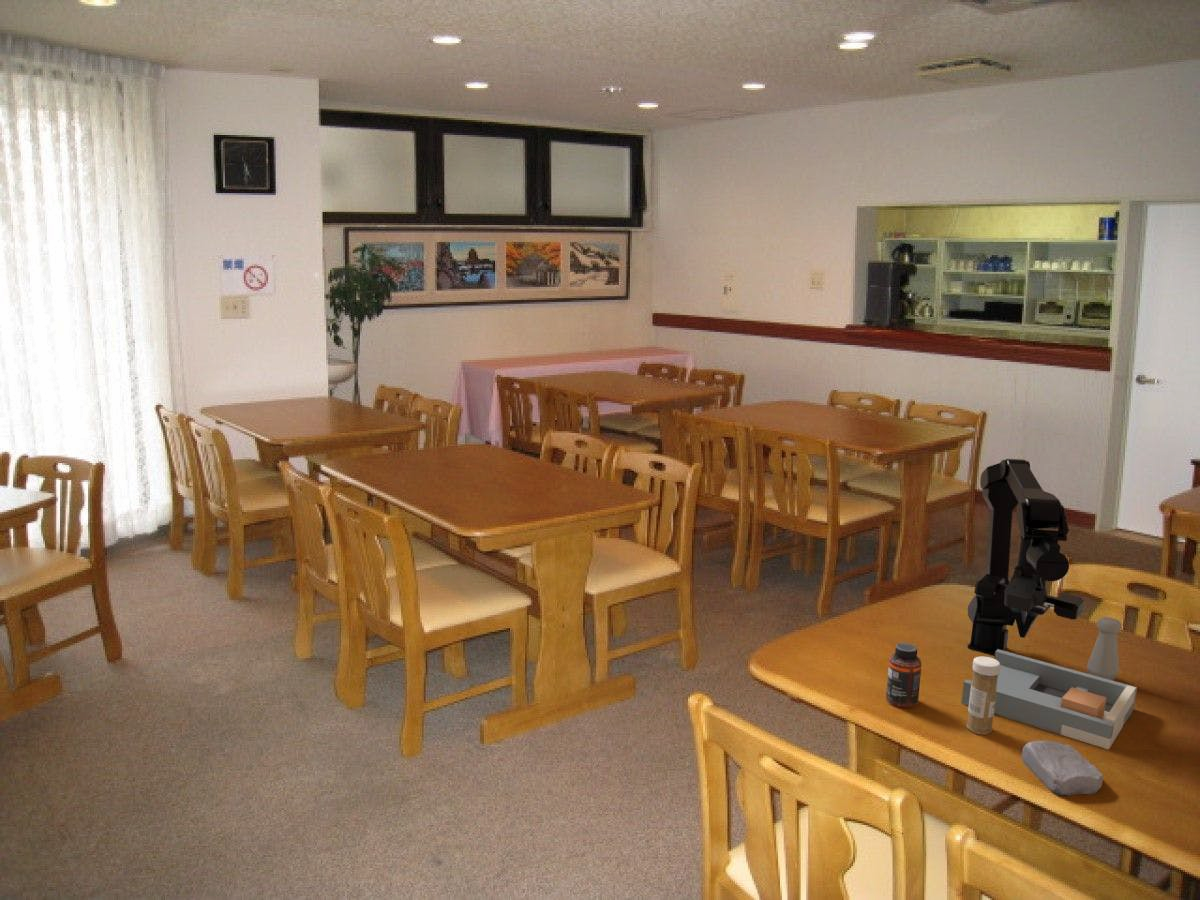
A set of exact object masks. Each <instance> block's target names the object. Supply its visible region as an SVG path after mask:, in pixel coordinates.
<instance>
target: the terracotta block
mask: <svg viewBox="0 0 1200 900" xmlns="http://www.w3.org/2000/svg"><path fill="white" fill-rule="evenodd" d="M1106 698H1107V697H1104V696H1100V695H1097V694H1093V693H1090V692H1087V691H1083V690H1080V689H1077V688H1073V687H1072V688H1071V689H1070V690H1069V691H1068V692H1067V693H1066V694H1065V695H1064V696H1063V697H1062V701H1061V707H1062V708H1065V709H1069V710H1072V711H1075V712H1079V713H1082V714H1085V715H1089V716H1092V717H1096V718H1099V719H1103V718H1104V711H1105V704H1106Z"/></svg>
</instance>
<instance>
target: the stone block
mask: <svg viewBox="0 0 1200 900" xmlns="http://www.w3.org/2000/svg"><path fill="white" fill-rule="evenodd" d="M1021 752H1022V754H1021V760H1022V762H1023V764H1024V765H1025V766H1026V767H1027V768H1028V769H1029V770H1030V771H1031V772H1032V773H1033V774H1034V775H1035V776H1036V777H1037V778H1038V779H1039V780H1040V781H1041V782H1042V783H1043V784H1044V785H1045V786H1046V787H1047V789H1048V790H1049V791H1051V792H1053V793H1055V794H1056V795H1058V796H1060V797H1062V796H1072V795H1077V794H1082V795H1083V794H1084V795H1094V794H1096V793H1098V791H1099V790H1100V789H1101V787H1102V785H1103V776H1104V775H1103V773H1102V772H1101V771H1099V770H1098V768H1097V767H1096V766H1095V765H1093V764H1091V763H1090V762H1089V761H1088V760H1087V759H1085V758H1084V757H1083V755H1082V754H1081V753H1080V752H1078V751H1077V750H1076V749H1075V748H1074V747H1073V746H1071V745H1069V744H1067V743H1065V742H1058V741H1053V740H1035V741H1034V740H1033V741H1029V742H1027V743H1025V745H1024V746H1023V747H1022V751H1021Z"/></svg>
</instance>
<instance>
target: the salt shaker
mask: <svg viewBox="0 0 1200 900" xmlns="http://www.w3.org/2000/svg"><path fill="white" fill-rule="evenodd" d="M1096 628H1097V629H1098V630H1099V632H1098V635H1097V638H1096V640H1095V644H1094V646H1093V649H1092V651H1091V653H1090V656H1089V659H1088V662H1087V665H1086V669H1087V670H1088V674H1090V675H1094V676H1098V677H1101V678H1105V679H1109V680H1112V681H1115V679H1116V677H1117V676H1118V674H1119V672H1120V664H1119V663H1120V662H1119V661H1120V658H1119V644H1118V634H1119V633H1120V632H1121V630H1122V623H1121V622H1120V620H1119V619H1117V618H1115V617H1110V616H1101V617H1100V618H1099V619H1098V620H1097V625H1096Z"/></svg>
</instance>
